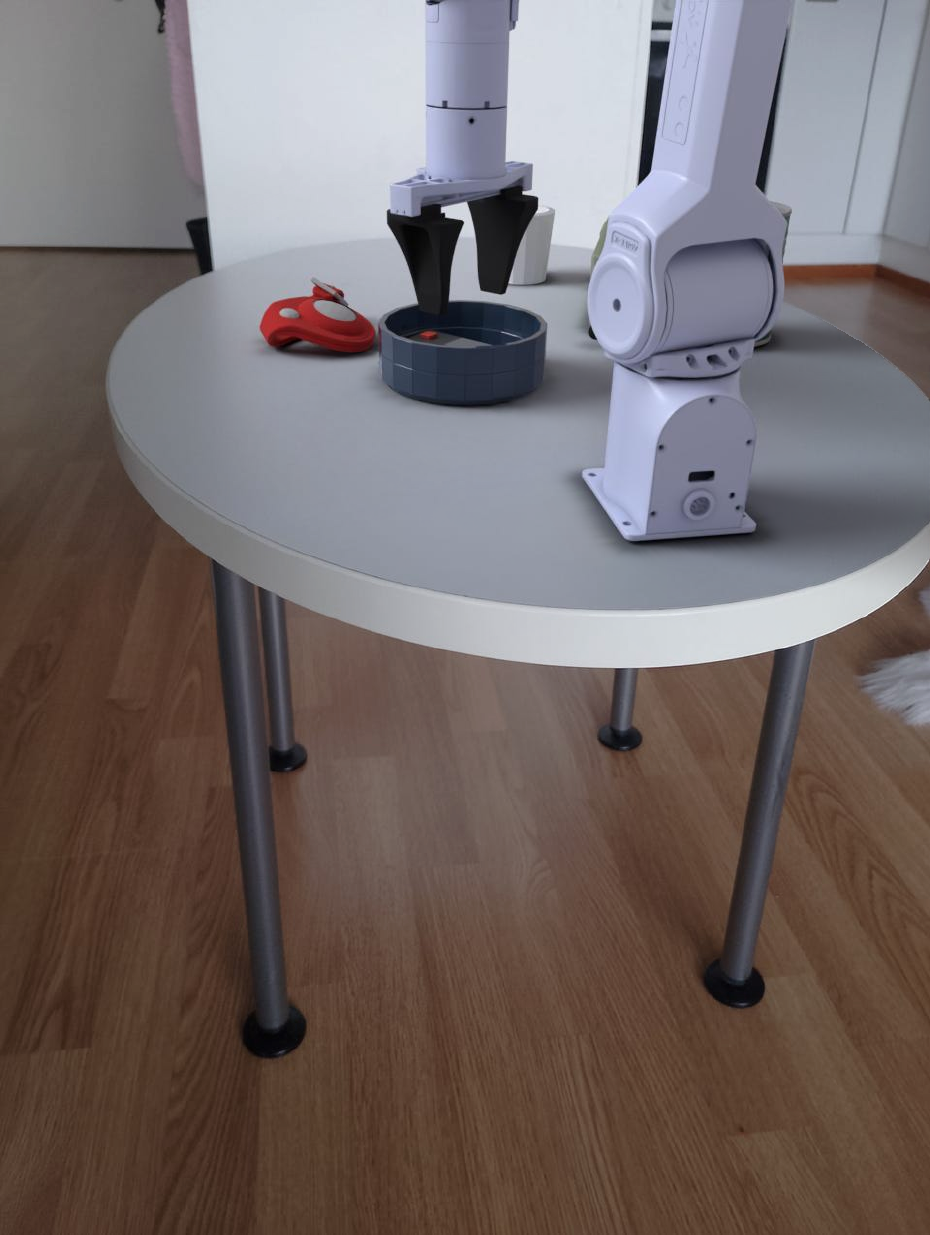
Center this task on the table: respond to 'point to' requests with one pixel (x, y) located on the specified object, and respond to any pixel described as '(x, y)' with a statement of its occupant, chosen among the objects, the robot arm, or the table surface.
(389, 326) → the bowl
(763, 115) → the robot arm
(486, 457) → the table surface
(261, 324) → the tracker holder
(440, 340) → the remote
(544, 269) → the white cup
